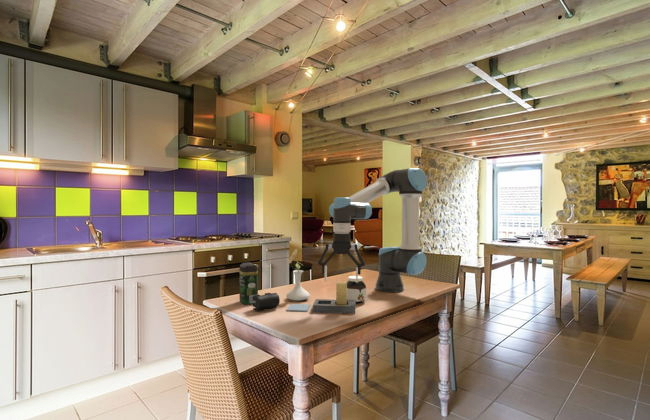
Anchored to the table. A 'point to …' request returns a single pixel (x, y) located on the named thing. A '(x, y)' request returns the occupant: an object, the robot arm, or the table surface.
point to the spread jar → (356, 289)
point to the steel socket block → (333, 306)
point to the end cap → (266, 301)
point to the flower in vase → (297, 283)
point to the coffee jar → (248, 282)
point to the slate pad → (298, 307)
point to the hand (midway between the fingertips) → (341, 281)
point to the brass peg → (341, 293)
